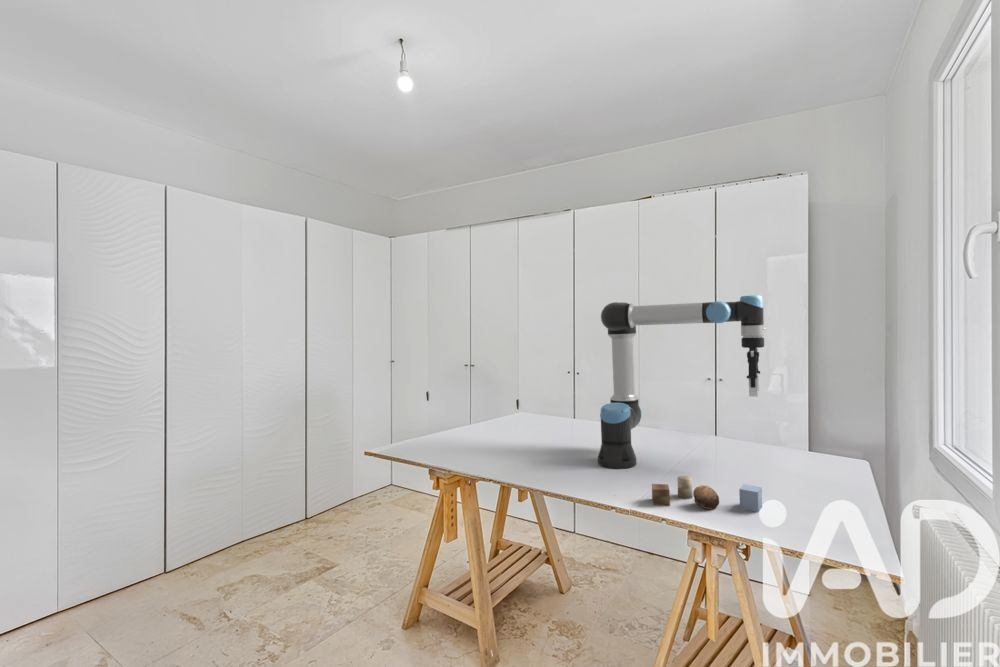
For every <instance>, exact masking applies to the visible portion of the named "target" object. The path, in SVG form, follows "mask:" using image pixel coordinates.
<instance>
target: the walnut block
mask: <svg viewBox="0 0 1000 667" xmlns="http://www.w3.org/2000/svg"><path fill="white" fill-rule="evenodd" d="M670 492H671V491H670V487H669V484H665V483H663V484H662V483H651V500H652V505H653V506H664V507H665V506H671V496H670V495H671V494H670Z"/></svg>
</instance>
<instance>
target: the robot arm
mask: <svg viewBox="0 0 1000 667" xmlns="http://www.w3.org/2000/svg"><path fill="white" fill-rule="evenodd" d="M600 319H601V320H600V321H601V322H602V325H603V326H604V327H605V328H606V329H607V336H608V337H609V338H611V354H612V355H611V356H612V357H611V359H612V378H613V380H612V381H613V395H612V396H611V397H610V399H609V400H610V403H605V404H603V405H602V406H601V408H600V412H599V413H600V414H599V418H600V434H601V438H600V439H601V445H600V448H599V452H598V456H597V464H598V465H599V466H600V467H601V466H602V467H605V468H607V469H608V468H609V469H610V468H611V469H629V468H633V467H635V466H637V464H638V463H637V456H636V454H635V451H634V448H633V445H632V430H633V429H634V428H636V427H637V426H638V425H639V423H640V422H641V419H642V415H643V414H642V409H641V407H640V404H639V397H638V396H637V395H636V394H635V372H634V370H635V369H634V366H635V365H634V344H633V342H634V340H633V338H634V337H635V336H636V335H637V326H657V325H658V326H659V325H683V324H685V325H686V324H689V325H690V324H722V323H723V324H724V323H729V322H740V323H741V324H740V336H741V340H740V341H741V347H742V348H746V349H749V350H748V352H746V357H747V364H748V375H746V379H748V396H749V397H757V398H758V397H759V396H758V392H760V387H759V386H760V384H759V380H760V379H759V374H761V370H759V364H758V363H759V360H760V359H759V358H760V352H759V351H758V349H760V348H761V349H762V348H764V347H765V338H764V337H763V336H764V335H765V332H764V331H766V327H764V321H765V320H764V301H763V297H762V295H758V294H757V295H756V294H754V295H752V294H751V295H742V296H740V299H739V300H738V301H726V302H725V301H718V300H717V301H712V302H711V301H710V302H690V303H689V302H688V303H669V304H668V303H667V304H651V305H647V304H646V305H634V304H633V303H628V302H622V301H621V302H618V301H617V302H610V303H608V304H606V305H605V306H604V307H603V308H602V310H601V313H600Z"/></svg>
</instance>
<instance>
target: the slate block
mask: <svg viewBox="0 0 1000 667" xmlns="http://www.w3.org/2000/svg"><path fill="white" fill-rule="evenodd" d="M738 491H739V509H741V510H745V511H751V512H754V513H759V512H760V510H762V509H763V489H762V486H757V485H752V484H751V485H750V484H744V483H743V484H742V485H741V486H740V488H739V490H738Z"/></svg>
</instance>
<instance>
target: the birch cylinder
mask: <svg viewBox="0 0 1000 667" xmlns="http://www.w3.org/2000/svg"><path fill="white" fill-rule="evenodd" d="M676 479H677V480H676V481H677V496H678V498H680V499H684V500H691V499H693V498H694V496H693V478H692V477H691V476H688V475H679V476H677V478H676Z"/></svg>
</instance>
